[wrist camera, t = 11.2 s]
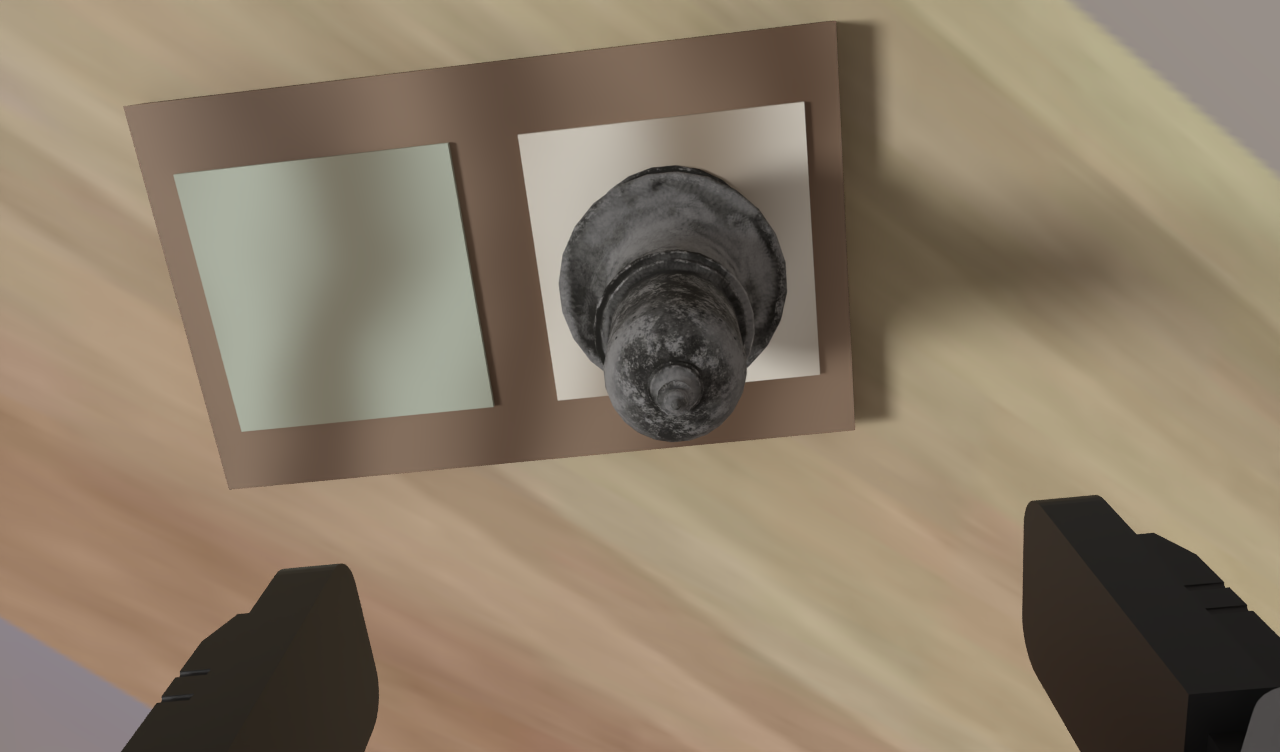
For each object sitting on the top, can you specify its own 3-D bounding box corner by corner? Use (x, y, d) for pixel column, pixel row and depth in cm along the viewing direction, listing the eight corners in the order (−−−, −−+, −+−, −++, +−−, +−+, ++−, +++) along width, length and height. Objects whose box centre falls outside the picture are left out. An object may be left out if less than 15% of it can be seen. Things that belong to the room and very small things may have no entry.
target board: (243, 473, 33) (226, 492, 32) (144, 103, 29) (119, 107, 28) (848, 415, 32) (856, 432, 31) (829, 21, 28) (837, 20, 27)
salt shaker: (802, 189, 28) (893, 300, 17) (735, 376, 30) (778, 588, 19) (602, 127, 28) (559, 198, 16) (548, 321, 30) (476, 504, 18)
